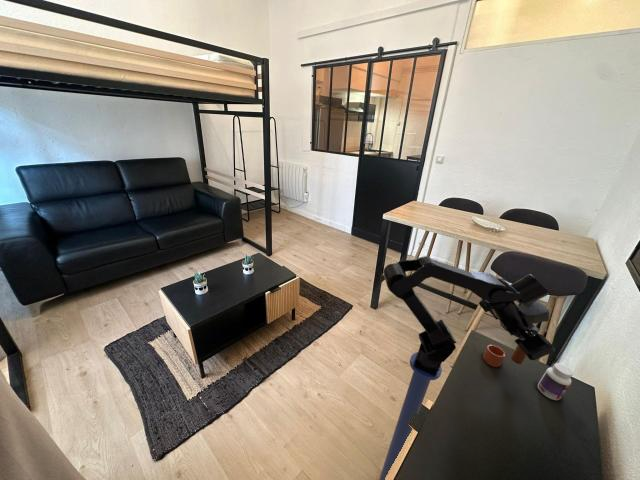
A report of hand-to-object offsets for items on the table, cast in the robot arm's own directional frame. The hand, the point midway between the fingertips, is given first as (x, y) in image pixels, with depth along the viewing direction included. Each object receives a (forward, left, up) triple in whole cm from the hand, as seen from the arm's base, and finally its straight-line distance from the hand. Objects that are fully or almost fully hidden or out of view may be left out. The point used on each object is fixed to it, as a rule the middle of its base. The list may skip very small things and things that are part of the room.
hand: (529, 344), depth 74 cm
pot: (-6, +3, -13) cm, 14 cm away
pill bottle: (+9, -1, -13) cm, 16 cm away
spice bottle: (-1, -1, -7) cm, 7 cm away
